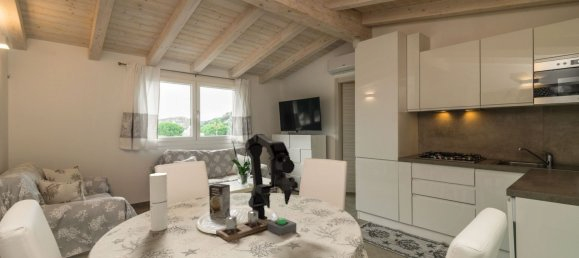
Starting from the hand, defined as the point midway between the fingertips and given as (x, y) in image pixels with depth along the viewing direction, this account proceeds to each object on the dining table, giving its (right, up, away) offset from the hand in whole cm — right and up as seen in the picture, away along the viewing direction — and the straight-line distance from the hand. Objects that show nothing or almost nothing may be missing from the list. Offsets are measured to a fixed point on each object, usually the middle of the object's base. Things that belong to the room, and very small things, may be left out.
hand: (277, 206), depth 117 cm
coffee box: (-32, -12, +24) cm, 41 cm away
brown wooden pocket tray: (-15, -12, 0) cm, 19 cm away
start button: (+2, -8, 0) cm, 8 cm away
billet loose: (-11, -10, +3) cm, 16 cm away
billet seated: (-19, -11, -4) cm, 22 cm away
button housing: (+2, -11, 0) cm, 11 cm away
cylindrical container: (-55, -12, +7) cm, 57 cm away
